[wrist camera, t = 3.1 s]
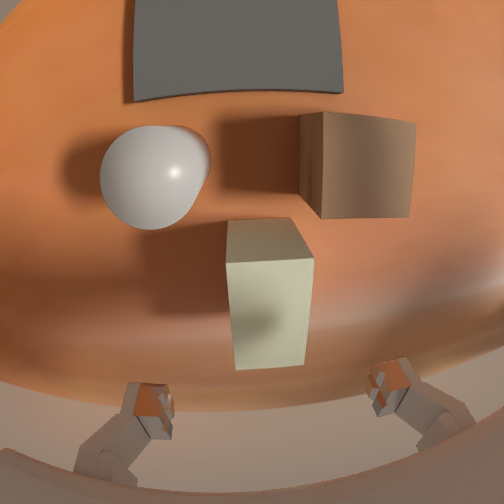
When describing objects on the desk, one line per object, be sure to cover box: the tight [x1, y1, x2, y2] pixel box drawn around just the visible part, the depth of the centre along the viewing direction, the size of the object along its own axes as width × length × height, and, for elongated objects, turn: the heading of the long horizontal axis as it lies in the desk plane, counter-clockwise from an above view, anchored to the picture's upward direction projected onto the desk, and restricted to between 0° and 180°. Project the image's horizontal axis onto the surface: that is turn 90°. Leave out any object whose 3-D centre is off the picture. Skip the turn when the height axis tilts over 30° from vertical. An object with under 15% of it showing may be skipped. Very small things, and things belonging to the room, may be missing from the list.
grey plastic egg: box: [100, 126, 211, 230], centre depth 14 cm, size 4×4×6 cm
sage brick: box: [226, 218, 314, 370], centre depth 17 cm, size 4×7×6 cm, turn 2°
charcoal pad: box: [133, 0, 344, 102], centre depth 12 cm, size 12×11×1 cm
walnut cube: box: [299, 112, 416, 219], centre depth 15 cm, size 5×5×5 cm
